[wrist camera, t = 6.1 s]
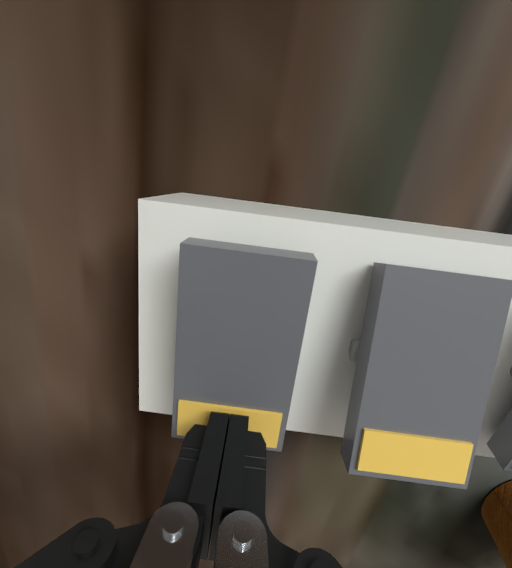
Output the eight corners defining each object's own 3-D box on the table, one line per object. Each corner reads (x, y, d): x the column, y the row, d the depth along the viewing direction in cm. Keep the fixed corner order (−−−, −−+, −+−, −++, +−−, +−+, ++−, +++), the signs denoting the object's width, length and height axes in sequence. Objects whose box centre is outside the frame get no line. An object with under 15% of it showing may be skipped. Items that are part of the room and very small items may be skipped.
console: (181, 192, 17) (128, 200, 11) (588, 244, 17) (780, 284, 11) (175, 350, 21) (131, 428, 14) (515, 395, 21) (627, 494, 14)
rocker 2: (373, 261, 12) (387, 264, 10) (490, 277, 12) (519, 281, 10) (340, 452, 13) (349, 476, 11) (447, 466, 13) (469, 492, 11)
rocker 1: (189, 237, 11) (178, 244, 10) (312, 253, 11) (318, 262, 10) (179, 416, 14) (170, 440, 12) (280, 429, 14) (281, 455, 12)
